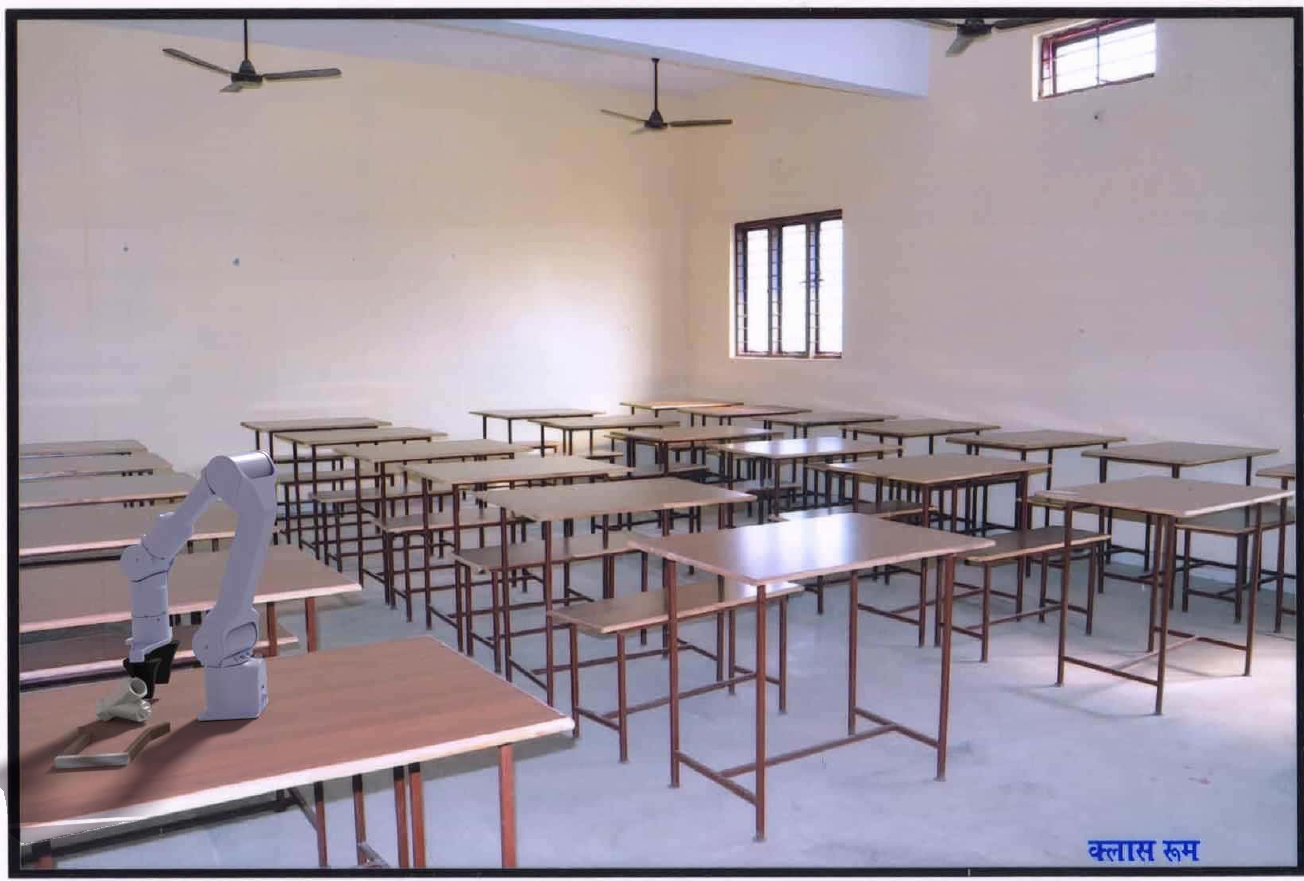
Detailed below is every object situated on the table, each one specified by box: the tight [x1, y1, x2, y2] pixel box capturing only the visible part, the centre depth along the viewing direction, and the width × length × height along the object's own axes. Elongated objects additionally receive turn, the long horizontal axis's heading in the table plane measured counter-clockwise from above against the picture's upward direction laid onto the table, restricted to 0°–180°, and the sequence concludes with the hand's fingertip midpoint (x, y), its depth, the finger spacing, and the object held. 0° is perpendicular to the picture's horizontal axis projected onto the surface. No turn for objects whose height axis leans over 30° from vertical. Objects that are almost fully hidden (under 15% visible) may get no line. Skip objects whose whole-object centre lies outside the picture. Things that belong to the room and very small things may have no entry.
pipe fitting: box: [94, 677, 153, 723], centre depth 167 cm, size 8×4×7 cm
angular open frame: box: [53, 721, 171, 769], centre depth 156 cm, size 14×13×2 cm
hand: (154, 690), depth 175 cm, fingers open, 7 cm apart
